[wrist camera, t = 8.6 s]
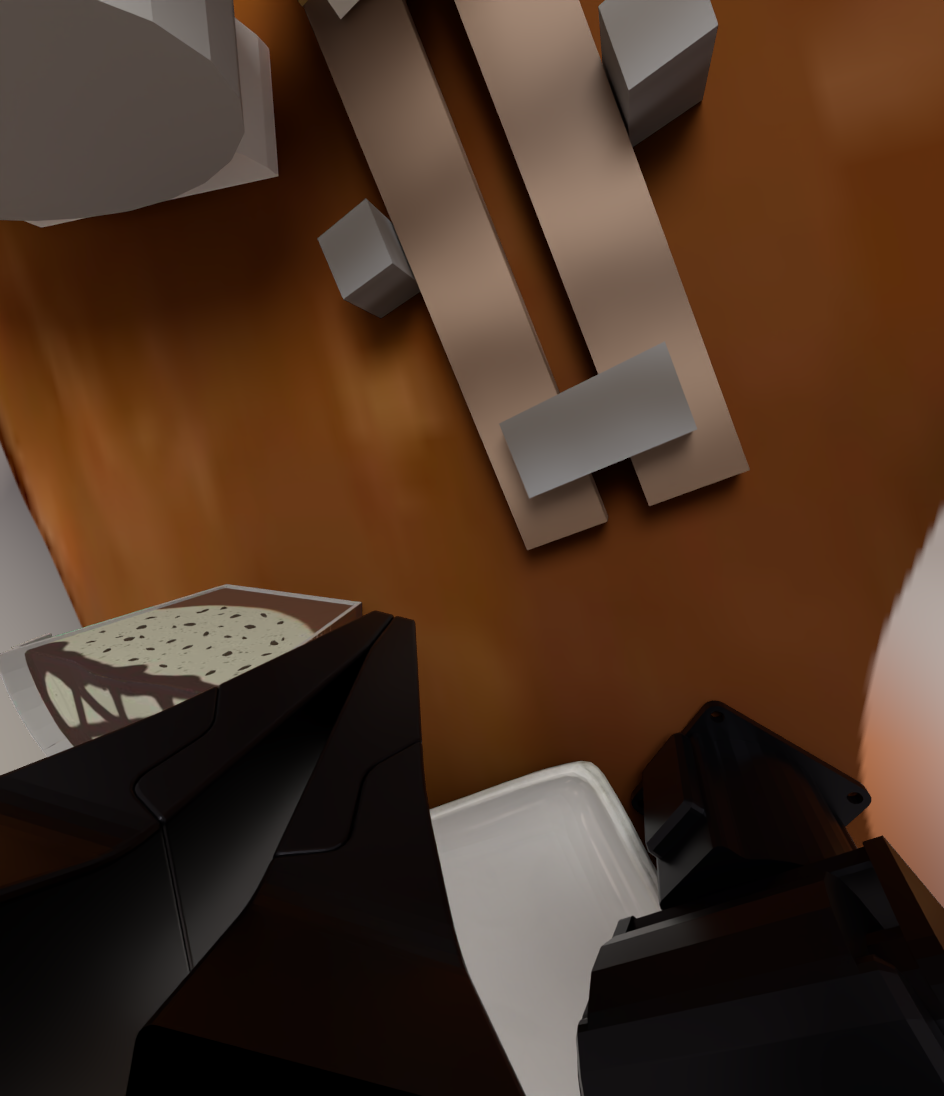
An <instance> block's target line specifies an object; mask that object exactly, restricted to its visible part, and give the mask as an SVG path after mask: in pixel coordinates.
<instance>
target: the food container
mask: <svg viewBox="0 0 944 1096" xmlns="http://www.w3.org/2000/svg"><path fill="white" fill-rule="evenodd" d="M360 617H362V602H355V601H348V600H341V599H333V598H326V597H318V596H311V595H303V594H296V593H288V592H281V591H273V590H266V589H259V588H251V587H244V586H236V585H229V584H225V585H222V586H218V587H215V588H212V589H209V590H205V591H202V592H199V593H195V594H192V595H189V596H186V597H182V598H179V599H176V600H172V601H169V602H166V603H163V604H159V605H156V606H153V607H149V608H146V609H143V610H140V611H136V612H133V613H130V614H126V615H123V616H120V617H117V618H113V619H110V620H107V621H103V622H100V623H97V624H94V625H90V626H87V627H84V628H80V629H77V630H74V631H71V632H67V633H64V634H61V635H58V636H54V637H52V635H51V633H47V634H45V635H42V636H40V637H37V638H34V639H32V640H29V641H27V642H24V643H22V644H19V645H17V646H14V647H11V648H12V649H11V650H8V651H5V652H3V653H0V676H1V678H2V681H3V683H4V686H5V688H6V691H7V693H8V696H9V697H10V699H11V701H12V703H13V705H14V707H15V709H16V711H17V713H18V715H19V717H20V718H21V720H22V722H23V723H24V725H25V727H26V728H27V730H28V732H29V733H30V735H31V736H32V738H33V739H34V740H35V742H36V743H37V745H38V746H39V747H40V749H41V750H42V751H43V753H44V754H45V755H46V756H47V757H49V756H51V755H54V754H57V753H59V752H62V751H64V750H67V749H69V748H72V747H74V746H77V745H79V744H82V743H84V742H87V741H90V740H92V739H95V738H97V737H100V736H102V735H105V734H107V733H110V732H112V731H115V730H117V729H120V728H122V727H125V726H127V725H130V724H132V723H134V722H137V721H139V720H142V719H144V718H147V717H149V716H151V715H154V714H156V713H159V712H161V711H163V710H165V709H167V708H170V707H172V706H174V705H176V704H178V703H181V702H183V701H185V700H187V699H189V698H192V697H194V696H196V695H198V694H200V693H202V692H204V691H206V690H208V689H211V688H213V687H218V688H219V685H220V684H221V683H223V682H226V681H228V680H230V679H232V678H234V677H236V676H238V675H240V674H242V673H244V672H247V671H249V670H251V669H253V668H255V667H257V666H259V665H261V664H263V663H265V662H267V661H270V660H272V659H274V658H276V657H278V656H280V655H282V654H284V653H286V652H288V651H291V650H293V649H295V648H297V647H299V646H301V645H303V644H305V643H307V642H309V641H311V640H314V639H316V638H318V637H320V636H322V635H324V634H326V633H328V632H330V631H332V630H335V629H337V628H339V627H341V626H343V625H345V624H347V623H349V622H351V621H353V620H355V619H358V618H360Z"/></svg>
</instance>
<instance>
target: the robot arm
mask: <svg viewBox="0 0 944 1096" xmlns="http://www.w3.org/2000/svg"><path fill="white" fill-rule="evenodd" d="M715 711H718V712H721V713H722V715H721V716H720V717H713V716H711V713H713V712H715ZM851 792H857V793H858V794H857V795H855V796H847V795H848V794H849V793H851ZM642 799H644V803H643V802H640V801H639V800H642ZM870 803H871V796H870V795H869V793H868V791H867V790H866V788H865V787H864V785H862V784H861V783H860V782H858V781H857V780H855V779H853V778H851V777H850V776H848V775H846V774H845V773H843V772H841V771H839V770H838V769H836V768H834V767H833V766H831V765H829V764H827V763H826V762H824V761H822V760H821V759H819V758H817V757H815V756H814V755H812V754H810V753H808V752H807V751H805V750H803V749H802V748H800V747H798V746H796V745H795V744H793V743H791V742H790V741H788V740H786V739H784V738H783V737H781V736H779V735H778V734H776V733H774V732H772V731H771V730H769V729H767V728H765V727H764V726H762V725H760V724H759V723H757V722H755V721H753V720H752V719H750V718H748V717H747V716H745V715H743V714H741V713H740V712H738V711H736V710H735V709H733V708H731V707H729V706H728V705H726V704H724V703H722V702H720V701H710V702H707V703H706V704H705V705H704V706H703V707H702V708H701V709H700V711H699V712H698V713H697V714H696V715H695V717H694V718H693V719H692V720H691V722H690V723H689V724H688V725H687V726H686V728H685V729H684V730H683V731H682V733H675V734H673V735H672V736H671V737H670V738H669V740H668V741H667V742H666V743H665V744H664V746H663V747H662V748H661V749H660V751H659V752H658V753H657V754H656V756H655V757H654V758H653V759H652V760H651V762H650V763H649V764H648V765H647V767H646V768H645V769H644V770H643V780H642V781H641V783H640V784H639V785H638V786H637V787H636V789H635V790H634V791H633V793H632V806H633V807H634V809H635V810H636V811H637V812H639V813H640V814H642V815H644V824H645V843H646V846H647V850H648V852H649V853H651V854H652V855H654V856H655V857H656V861H657V876H658V892H659V905H660V909H661V910H662V911H659V912H656V913H652V914H649V915H646V916H643V917H640V918H637V919H636V917H634V916H630V917H627V918H623V919H620V920H619V921H618V924H617V926H616V929H615V931H614V934H613V937H612V939H610V940H609V941H608V942H606V943H605V944H604V945H602V946H601V948H600V950H599V953H598V955H597V958H596V961H595V963H594V966H593V968H592V971H591V979H590V990H589V1000H588V1003H587V1005H586V1008H585V1011H584V1013H583V1016H582V1020H580V1021H579V1023H578V1027H577V1033H576V1047H577V1066H578V1082H579V1090H580V1096H944V908H943V907H942V906H941V904H940V903H939V902H938V901H937V900H936V898H935V897H934V896H933V895H932V894H931V892H930V891H929V890H928V889H927V888H926V886H925V885H924V884H923V883H922V882H921V881H920V879H919V878H918V877H917V876H916V874H915V873H914V872H913V871H912V870H911V869H910V867H909V866H908V865H907V864H906V863H905V861H904V860H903V859H902V858H901V857H900V855H899V854H898V853H897V852H896V851H895V849H894V848H893V847H892V846H891V845H890V844H889V842H888V841H887V840H886V839H885V838H884V837H883V836H880V837H876V838H873V839H870V840H867V841H864V842H863V845H864V847H861V848H858V849H857V847H856V846H855V844H854V842H853V840H852V838H851V837H850V835H849V833H848V831H847V830H846V828H845V826H847V825H848V824H849V823H850V822H851V821H852V820H853V819H854V818H856V817H857V816H858V815H859V814H860V813H861V812H862V811H863V810H864V809H866V808H867V807H868V806H869V804H870ZM0 1096H526V1094H525V1092H524V1090H523V1088H522V1086H521V1084H520V1082H519V1079H518V1077H517V1075H516V1073H515V1071H514V1069H513V1067H512V1065H511V1062H510V1060H509V1058H508V1056H507V1054H506V1052H505V1050H504V1048H503V1045H502V1043H501V1041H500V1039H499V1037H498V1035H497V1033H496V1031H495V1028H494V1026H493V1024H492V1022H491V1020H490V1018H489V1016H488V1014H487V1011H486V1009H485V1007H484V1005H483V1003H482V1001H481V999H480V997H479V994H478V992H477V990H476V988H475V986H474V984H473V982H472V979H471V977H470V975H469V973H468V970H467V967H466V964H465V961H464V958H463V955H462V952H461V949H460V945H459V942H458V938H457V934H456V931H455V927H454V923H453V918H452V914H451V910H450V906H449V901H448V896H447V892H446V887H445V882H444V878H443V873H442V868H441V864H440V859H439V854H438V850H437V845H436V840H435V836H434V831H433V826H432V821H431V816H430V810H429V804H428V798H427V793H426V784H425V774H424V764H423V746H422V733H421V715H420V698H419V680H418V662H417V645H416V627H415V621H414V620H411V619H407V618H403V617H399V616H396V617H394V616H393V615H391V614H388V613H384V612H380V611H372V612H370V613H368V614H366V615H364V616H362V617H360V618H358V619H355V620H353V621H351V622H349V623H347V624H345V625H343V626H341V627H339V628H337V629H335V630H332V631H330V632H328V633H326V634H324V635H322V636H320V637H318V638H316V639H314V640H311V641H309V642H307V643H305V644H303V645H301V646H299V647H297V648H295V649H293V650H291V651H288V652H286V653H284V654H282V655H280V656H278V657H276V658H274V659H272V660H270V661H267V662H265V663H263V664H261V665H259V666H257V667H255V668H253V669H251V670H249V671H247V672H244V673H242V674H240V675H238V676H236V677H234V678H232V679H230V680H228V681H226V682H223V683H221V684H220V685H219V688H218V687H213V688H211V689H208V690H206V691H204V692H202V693H200V694H198V695H196V696H194V697H192V698H189V699H187V700H185V701H183V702H181V703H178V704H176V705H174V706H172V707H170V708H167V709H165V710H163V711H161V712H159V713H156V714H154V715H151V716H149V717H147V718H144V719H142V720H139V721H137V722H134V723H132V724H130V725H127V726H125V727H122V728H120V729H117V730H115V731H112V732H110V733H107V734H105V735H102V736H100V737H97V738H95V739H92V740H90V741H87V742H84V743H82V744H79V745H77V746H74V747H72V748H69V749H67V750H64V751H62V752H59V753H57V754H54V755H51V756H49V757H46V758H44V759H42V760H39V761H37V762H34V763H31V764H29V765H26V766H23V767H21V768H19V769H16V770H14V771H11V772H8V773H6V774H3V775H0Z"/></svg>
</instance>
